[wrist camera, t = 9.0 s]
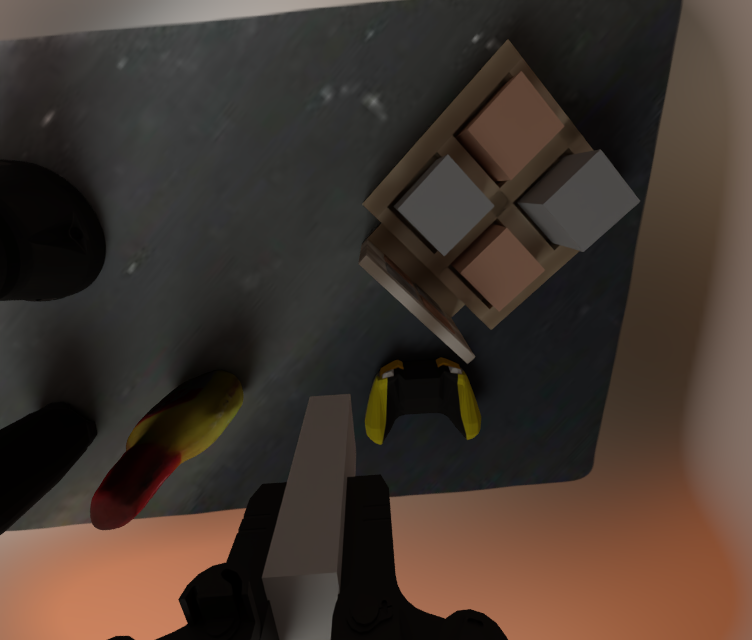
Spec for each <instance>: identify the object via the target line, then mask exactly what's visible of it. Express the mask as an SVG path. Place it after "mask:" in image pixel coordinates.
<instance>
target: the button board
mask: <svg viewBox="0 0 752 640" xmlns="http://www.w3.org/2000/svg"><path fill="white" fill-rule="evenodd" d="M520 71H522V72H523V73H524V75H525V76H526V77H527V79H528V80H529V81H530V82H531V84H532V85H533V86H534V88H535V89H536V90H537V91H538V93H539V94H540V95H541V97H542V98H543V99H544V100H545V102H546V103H547V104H548V106H549V107H550V108H551V110H552V111H553V112H554V113H555V115H556V116H557V117H558V119H559V120H560V121H561V122H562V124H563V125H564V127H563V128H562V129H561V130H560V131H559V132H558V133H557V134H556V135H555V136H554V137H553V139H552V140H551V141H550V142H549V143H548V144H547V145H546V146H545V147H544V148H543V149H542V150H541V151H540V152H539V153H538V154H537V155H536V156H535V157H534V158H533V159H532V160H531V161H530V162H529V163H528V164H527V165H526V166H525V167H524V168H523V169H522V170H521V171H520V172H519V173H518V174H517V175H516V176H515V177H514V178H513V179H512V180H505V181H493V180H492V179H491V178H490V177H489V176H488V175H487V174H486V172H485V171H484V170H483V169H482V168H481V167H480V166H479V164H478V163H477V162H476V161H475V160H474V159H473V158H472V157H471V155H470V154H469V153H468V152H467V151H466V150H465V149H464V147H463V146H462V145H461V144H460V143H459V142H458V141H457V140H456V138H455V136H456V135H457V134H458V133H459V132H460V131H461V129H462V128H463V127H464V126H465V125H466V124H467V123H468V122H469V121H470V120H471V118H472V117H473V116H474V115H475V114H476V113H477V112H478V111H479V110H480V109H481V107H482V106H483V105H484V104H485V103H486V102H487V101H488V100H489V99H490V98H491V96H492V95H493V94H494V93H495V92H496V91H497V90H498V89H499V88H500V87H502V86H503V85H504V84H505V83H507V82H508V81H509V80H510V79H512V78H513V77H514V76H515V75H517V74H518V73H519V72H520ZM589 151H594V150H593V149H592V148H591V146H590V145H589V144H588V143H587V141H586V140H585V139H584V137H583V136H582V135H581V133H580V132H579V131H578V129H577V128H576V127H575V126H574V124H573V123H572V122H571V120H570V119H569V118H568V116H567V115H566V114H565V113H564V111H563V110H562V109H561V107H560V106H559V105H558V103H557V102H556V101H555V100H554V98H553V97H552V96H551V94H550V93H549V92H548V90H547V89H546V88H545V86H544V85H543V84H542V83H541V81H540V80H539V79H538V77H537V76H536V75H535V73H534V72H533V71H532V70H531V68H530V67H529V66H528V64H527V63H526V62H525V60H524V59H523V58H522V57H521V55H520V54H519V53H518V51H517V50H516V49H515V47H514V46H513V45H512V43H511V42H510V41H509V40H507V41H506V42H505V43H504V44H503V45H502V46H501V47H500V48H499V50H498V51H497V52H496V53H495V54H494V55H493V56H492V57H491V58H490V60H489V61H488V62H487V63H486V64H485V65H484V66H483V68H482V69H481V70H480V71H479V72H478V73H477V74H476V75H475V77H474V78H473V79H472V80H471V81H470V82H469V83H468V85H467V86H466V87H465V88H464V89H463V90H462V91H461V93H460V94H459V95H458V96H457V97H456V98H455V99H454V100H453V102H452V103H451V104H450V105H449V106H448V107H447V108H446V110H445V111H444V112H443V113H442V114H441V115H440V116H439V117H438V119H437V120H436V121H435V122H434V123H433V124H432V125H431V127H430V128H429V129H428V130H427V131H426V132H425V133H424V134H423V136H422V137H421V138H420V139H419V140H418V141H417V142H416V144H415V145H414V146H413V147H412V148H411V149H410V150H409V151H408V153H407V154H406V155H405V156H404V157H403V158H402V159H401V161H400V162H399V163H398V164H397V165H396V166H395V167H394V168H393V170H392V171H391V172H390V173H389V174H388V175H387V176H386V178H385V179H384V180H383V181H382V182H381V183H380V184H379V185H378V187H377V188H376V189H375V190H374V191H373V192H372V193H371V195H370V196H369V197H368V198H367V199H366V200H365V201H364V202H363V205H364V206H365V207H366V208H367V209H368V210H369V211H370V212H371V213H372V214H373V215H374V216H375V217H376V218H377V219H378V220H379V221H380V222H381V224H380V225H379V226H378V227H377V228H376V229H375V230H374V231H373V233H372V234H371V235H370V236H369V237H368V238H367V239H366V240H365V241H364V242H363V243H362V246H361V252H360V258H359V263H358V264H359V265H360V266H361V267H363V268H364V269H365V270H366V271H367V272H368V273H369V274H370V275H371V276H372V277H373V278H374V279H376V280H377V281H378V282H379V283H380V284H381V285H382V286H383V287H384V288H385V289H386V290H388V291H389V292H390V293H391V294H392V295H393V296H394V297H395V298H396V299H397V300H398V301H400V302H401V303H402V304H403V305H404V306H405V307H406V308H407V309H408V310H409V311H410V312H412V313H413V314H414V315H415V316H416V317H417V318H418V319H419V320H420V321H421V322H422V323H424V324H425V325H426V326H427V327H428V328H429V329H430V330H431V331H432V332H433V333H434V334H436V335H437V336H438V337H439V338H440V339H441V340H442V341H443V342H444V343H445V344H446V345H448V346H449V347H450V348H451V349H452V350H453V351H454V352H455V353H456V354H457V355H458V356H460V357H461V358H462V359H463V360H464V361H465V362H466V363H467V364H468V363H469V362H470V361H471V360H472V359H474V358H475V355H474V354H473V352H472V351H471V349H470V347H469V346H468V344H467V343H466V341H465V339H464V338H463V336H462V335H461V333H460V332H459V330H458V328H457V327H456V325H455V324H454V322H453V320H452V319H451V317H452V316H453V315H454V314H456V313H457V312H458V311H459V310H460V309H461V308H462V307H463V306H464V305H466V306H467V307H468V308H469V309H470V310H471V311H472V312H473V313H474V314H475V315H476V316H477V317H478V318H479V319H481V320H482V321H483V322H484V323H485V324H486V325H487V326H488V327H489V328H490V329H491V330H492V329H493V328H494V327H495V326H496V325H497V324H498V323H499V322H500V321H502V320H503V319H504V318H505V317H506V316H507V315H508V314H509V313H511V312H512V311H513V310H514V309H515V308H516V307H517V306H518V305H520V304H521V303H522V302H523V301H524V300H525V299H526V298H527V297H528V296H530V295H531V294H532V293H533V292H534V291H535V290H536V289H537V288H539V287H540V286H541V285H542V284H543V283H544V282H545V281H546V280H548V279H549V278H550V277H551V276H552V275H553V274H554V273H555V272H556V271H558V270H559V269H560V268H561V267H562V266H563V265H564V264H565V263H567V262H568V261H569V260H570V259H571V258H572V257H573V256H574V255H576V254H577V253H578V252H579V250H576V249H572V248H569V247H565V246H562V245H558V244H555V243H552V242H551V241H550V240H549V239H548V238H547V236H546V235H545V234H544V233H543V232H542V231H541V230H540V228H539V227H538V226H537V225H536V224H535V223H534V222H533V220H532V219H531V218H530V217H529V216H528V215H527V214H526V212H525V211H524V210H523V209H522V208H521V207H520V206H519V204H518V203H517V202H518V201H519V200H520V199H521V198H522V197H523V196H524V195H525V194H526V193H527V192H528V191H529V190H530V189H531V188H532V187H533V186H534V185H535V184H536V183H537V182H538V181H539V180H540V179H541V178H542V177H543V176H544V175H545V174H546V173H547V172H548V171H549V170H550V169H551V168H552V167H553V166H554V165H555V164H556V163H557V162H558V161H559V160H560V159H561V158H562V157H563V156H567V155H572V154H578V153H583V152H589ZM447 154H448V155H449V156H450V157H451V158H452V159H453V160H454V162H455V163H456V164H457V165H458V166H459V167H460V168H461V169H462V170H463V172H464V173H465V174H466V175H467V176H468V177H469V178H470V179H471V180H472V182H473V183H474V184H475V185H476V186H477V187H478V188H479V189H480V190H481V192H482V193H483V194H484V195H485V196H486V197H487V198H488V199H489V200H490V202H491V203H492V204H493V205H494V207H493V208H492V209H491V210H490V211H489V212H488V213H487V214H486V215H485V216H484V217H483V218H482V219H481V220H480V221H479V222H478V223H477V224H476V225H475V226H474V227H473V228H472V229H471V230H470V231H469V232H468V233H467V234H466V235H465V236H464V237H463V238H462V239H461V240H460V241H459V242H458V243H457V244H456V245H455V246H454V247H453V248H452V249H451V250H450V251H449V252H448V253H447V254H446V255H445V256H443V255H442V254H441V253H440V252H439V251H438V250H437V249H436V248H434V247H433V246H432V245H431V244H430V243H429V242H428V241H427V240H426V239H425V238H424V237H423V236H422V235H421V234H420V233H419V232H418V231H417V230H416V229H415V228H414V227H413V226H412V225H411V224H410V223H409V222H408V221H407V220H406V219H405V218H404V217H403V216H402V215H401V214H400V213H399V212H398V211H397V210H396V209H395V208H394V207H393V206H394V205H395V204H396V203H397V202H398V201H399V200H400V199H401V198H402V197H403V195H404V194H405V193H406V192H407V191H408V190H409V189H410V188H411V187H412V186H413V185H414V183H415V182H416V181H417V180H418V179H419V178H420V177H421V176H422V175H423V174H424V172H425V171H426V170H427V169H428V168H429V167H430V166H431V165H432V164H433V163H434V161H435V160H437V159H439V158H441V157H443V156H445V155H447ZM491 224H495V225H499V226H502V227H506V228H508V229H509V231H510V232H511V233H512V234H513V235H514V236H515V237H516V238H517V239H518V240H519V242H520V243H521V244H522V245H523V246H524V247H525V248H526V249H527V250H528V251H529V253H530V254H531V255H532V256H533V257H534V258H535V259H536V260H537V261H538V262H539V264H540V265H541V266H542V267H543V268H544V269H545V271H544V272H543V273H542V274H541V275H539V276H538V277H537V278H536V279H535V280H534V281H533V282H532V283H531V284H529V285H528V286H527V287H526V288H525V289H524V290H523V291H522V292H521V293H519V294H518V295H517V296H516V297H515V298H514V299H513V300H512V301H511V302H510V303H508V304H507V305H506V306H505V307H504V308H503V309H502V310H501V311H500V312H499V311H498V310H497V309H496V308H495V307H494V306H492V305H491V304H490V303H489V302H488V301H487V300H486V299H485V298H484V297H483V296H482V295H481V294H480V293H479V292H478V291H477V290H476V289H475V288H474V287H473V286H472V285H471V284H470V283H469V282H468V281H467V280H466V279H465V278H464V277H463V276H462V275H461V274H460V273H459V272H458V271H457V270H456V269H455V268H454V267H453V266H452V265H451V263H452V262H453V261H454V260H455V259H456V258H457V257H458V256H459V255H460V254H461V253H462V252H463V251H464V250H465V249H466V248H467V247H468V246H469V245H470V244H471V243H472V242H473V241H474V240H475V239H476V238H477V237H478V236H479V235H480V234H481V233H482V232H483V231H484V230H485V229H486V228H488V227H489V226H490V225H491Z"/></svg>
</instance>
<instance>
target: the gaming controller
mask: <svg viewBox="0 0 752 640" xmlns="http://www.w3.org/2000/svg"><path fill="white" fill-rule="evenodd" d="M421 413H442V414H444V415H446V416H448V418H449V419H450V420H451V421H452V423H453V424H454V425H455V427H456V428H457V429H458V430H459V431H460V432H461V433H462V435H463V436H464V437H465V438H466V439H467V440H469V439H471V438H473V437H475V436H476V435H477V434H478V433H479V431H480V425H481V415H480V412H479V408H478V405H477V402H476V399H475V396H474V393H473V390H472V388H471V385H470V382H469V380H468V377H467V375H466V374H465V372H464V370H463V369H462V368H460V366H459V364H457V363H455V362H453V361H450V360H448V359H446V358H442V357H440V358H438V359H436V360H422V361H404V362H402V361H399V360H395V361H393V362H391V363H389V364H387V365H386V366H384V367H382V368H381V369H380V372H378V373H377V374H376V376H375V378H374V381H373V384H372V387H371V390H370V393H369V398H368V403H367V408H366V413H365V427H366V433H367V436H368V437H369V438H370V439H371V440H372V441H374V442H375V443H377V444H382V443H383V441H384V440H385V438H386V437H387V435H388V433H389V432H390V430H391V428H392V425H393V423H394V421H395V419H397V418H398V417H399V416H401V415H405V414H421Z"/></svg>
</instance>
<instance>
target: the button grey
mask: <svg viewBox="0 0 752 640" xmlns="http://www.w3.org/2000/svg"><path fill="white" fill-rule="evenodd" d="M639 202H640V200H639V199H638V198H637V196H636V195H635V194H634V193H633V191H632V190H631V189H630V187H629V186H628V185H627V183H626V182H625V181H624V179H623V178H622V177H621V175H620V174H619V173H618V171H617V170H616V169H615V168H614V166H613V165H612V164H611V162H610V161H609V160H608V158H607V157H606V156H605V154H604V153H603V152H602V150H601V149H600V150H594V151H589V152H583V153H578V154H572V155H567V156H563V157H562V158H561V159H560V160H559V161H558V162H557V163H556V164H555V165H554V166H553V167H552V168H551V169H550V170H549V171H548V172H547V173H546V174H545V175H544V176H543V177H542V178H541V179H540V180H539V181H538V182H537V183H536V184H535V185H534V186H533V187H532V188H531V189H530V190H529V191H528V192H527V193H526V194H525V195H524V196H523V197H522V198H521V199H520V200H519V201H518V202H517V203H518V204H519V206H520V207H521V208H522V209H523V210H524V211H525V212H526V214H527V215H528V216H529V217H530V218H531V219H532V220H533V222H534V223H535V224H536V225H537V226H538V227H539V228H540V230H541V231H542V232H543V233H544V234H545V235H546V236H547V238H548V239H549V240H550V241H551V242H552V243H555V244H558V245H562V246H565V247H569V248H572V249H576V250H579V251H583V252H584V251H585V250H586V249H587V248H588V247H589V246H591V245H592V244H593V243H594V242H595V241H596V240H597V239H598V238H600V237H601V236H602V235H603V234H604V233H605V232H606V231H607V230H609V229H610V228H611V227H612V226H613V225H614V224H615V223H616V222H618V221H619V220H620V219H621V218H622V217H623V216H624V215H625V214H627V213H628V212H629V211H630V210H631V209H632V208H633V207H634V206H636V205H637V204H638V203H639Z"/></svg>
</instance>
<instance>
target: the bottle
mask: <svg viewBox="0 0 752 640" xmlns="http://www.w3.org/2000/svg"><path fill="white" fill-rule="evenodd" d="M242 402H243V390H242V386H241V382H240V381H239V380H238V378H237V377H236V376H235V375H234V374H232V373H229V372H227V371H223V370H216V371H212V372H209V373H206V374H203V375H201V376H199V377H196V378H194V379H191V380H189V381H187V382H185V383H183V384H181V385H180V386H178V387H177V388H176V389H174V390H173V391H172V392H170V393H169V394H168V395H167V396H166V397H164V398H163V399H162V400H161V401H160V402H159V403H158V404H156V405H155V406H154V407H153V408H152V409H151V410H150V411H149V412H148V413H147V414H146V415H145V416H144V417H143V418H142V419H141V420H140V421H139V423H138V424H137V425H136V426H135V428H134V429H133V431H132V433H131V434H130V436H129V438H128V440H127V443H126V452H125V453H124V454H123V456H122V457H121V459H120V460H119V461H118V462H117V463H116V464H115V465H114V466H113V468H112V469H111V470H110V471H109V472H108V474H107V475H106V477H105V478H104V480H103V481H102V483H101V484H100V486H99V488H98V489H97V490H96V492H95V494H94V496H93V498H92V501H91V508H90V517H91V522H92V524H93V525H94V527H96V528H97V529H100V530H111V529H115V528H120V527H122V526H124V525H126V524H127V523H128V522H130V521H131V520H132V519H134V517H135V516H136V515H137V514H138V513H139V512H140V511H141V510H142V509H143V508H144V507H145V506H146V504H147V503H148V502H149V500H150V499H151V498H152V497H153V495H154V494H155V493H156V491H157V490H158V489H159V487H160V486H161V485H162V483H163V482H164V481H165V480H166V479H167V478H168V477H169V476H170V474H171V473H172V472H173V471H174V470H175V469H176V468H177V467H178V466H179V465H180V464H181V463H183V462H184V461H186V460H188V459H190V458H192V457H194V456H196V455H198V454H200V453H201V452H203V451H204V450H206V449H207V448H208V447H209V446H210V445H211V444H212V443H213V442H215V440H216V439H217V438H218V437H219V436H220V435H221V433H222V432H223V431H224V429H225V428H226V427H227V426H228V424H229V423H230V422H231V420H232V419H233V418H234V416H235V415H236V413H237V412H238V410H239V409H240V407H241V405H242Z"/></svg>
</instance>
